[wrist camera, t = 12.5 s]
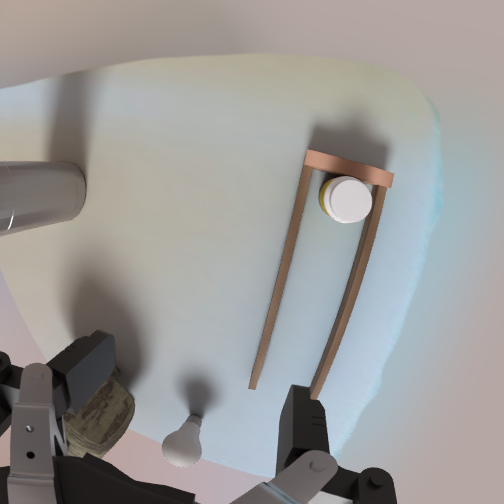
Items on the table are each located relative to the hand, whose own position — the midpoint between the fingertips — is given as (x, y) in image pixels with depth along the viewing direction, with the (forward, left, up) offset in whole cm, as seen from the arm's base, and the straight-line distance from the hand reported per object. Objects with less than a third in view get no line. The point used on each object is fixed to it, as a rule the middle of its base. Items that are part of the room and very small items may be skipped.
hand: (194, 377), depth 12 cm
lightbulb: (-4, -31, -26) cm, 41 cm away
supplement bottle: (+8, +8, -26) cm, 28 cm away
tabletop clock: (-20, -28, -26) cm, 43 cm away
